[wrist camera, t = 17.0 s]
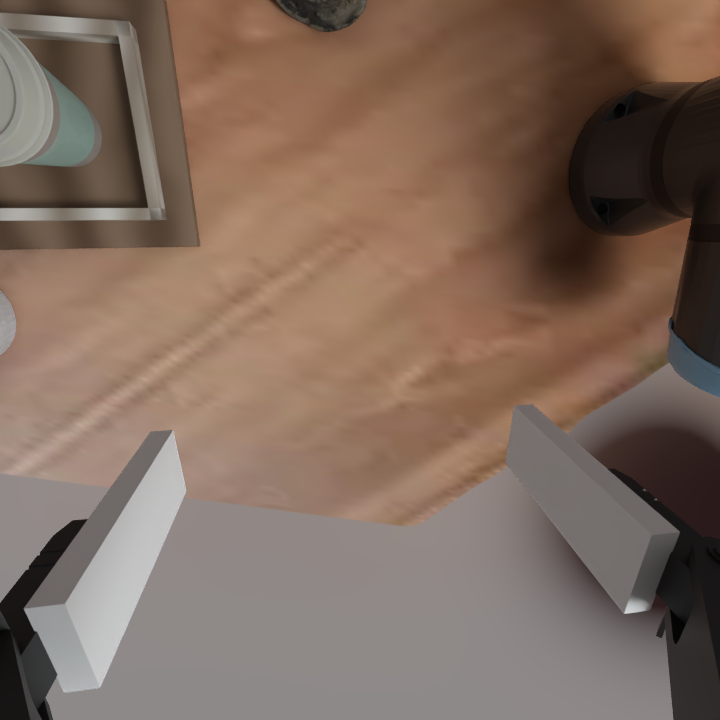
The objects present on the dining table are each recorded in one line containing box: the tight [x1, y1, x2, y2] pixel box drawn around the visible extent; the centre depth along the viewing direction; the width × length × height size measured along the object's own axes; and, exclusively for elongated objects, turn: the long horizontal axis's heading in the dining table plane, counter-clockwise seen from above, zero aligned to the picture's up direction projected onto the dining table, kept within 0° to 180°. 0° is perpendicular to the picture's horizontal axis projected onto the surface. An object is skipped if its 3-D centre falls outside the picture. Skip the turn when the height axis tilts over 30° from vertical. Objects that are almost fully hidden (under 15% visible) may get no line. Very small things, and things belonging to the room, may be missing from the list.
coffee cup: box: [0, 24, 102, 167], centre depth 28 cm, size 8×8×12 cm
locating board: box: [0, 0, 200, 250], centre depth 33 cm, size 20×20×2 cm
